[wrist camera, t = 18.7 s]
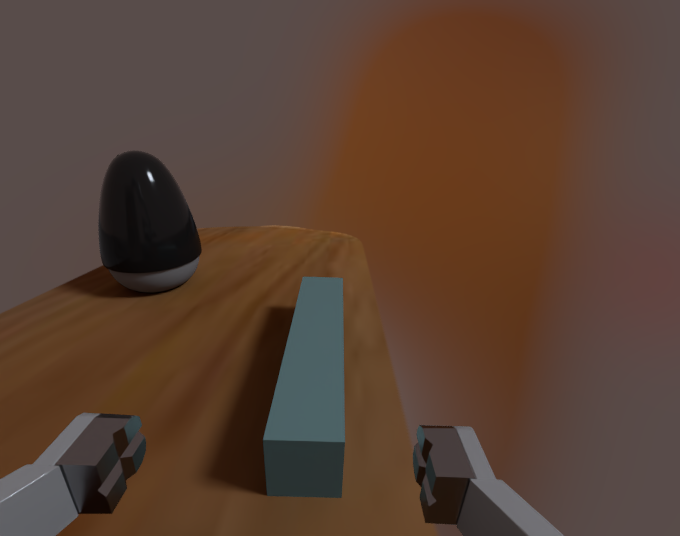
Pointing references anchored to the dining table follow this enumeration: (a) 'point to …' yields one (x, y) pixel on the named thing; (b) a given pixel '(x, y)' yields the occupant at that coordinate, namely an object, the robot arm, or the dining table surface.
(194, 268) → the black roly-poly toy
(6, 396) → the dining table surface
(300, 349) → the long teal rectangular block
